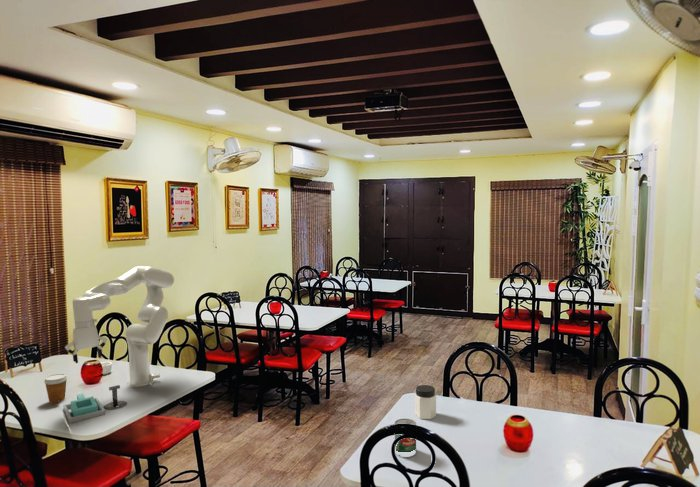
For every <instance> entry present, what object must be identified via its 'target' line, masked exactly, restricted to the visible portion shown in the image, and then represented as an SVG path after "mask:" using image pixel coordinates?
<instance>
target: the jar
mask: <svg viewBox="0 0 700 487" xmlns="http://www.w3.org/2000/svg"><path fill="white" fill-rule="evenodd" d="M414 416H417V418H418V419H420V420H432V419H434V418H435V417H436V416H437V395H436V388H435V387H434V386H432V385H429V384H421V385H417V386H416V387H415V393H414Z"/></svg>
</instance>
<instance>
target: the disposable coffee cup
mask: <svg viewBox="0 0 700 487" xmlns="http://www.w3.org/2000/svg"><path fill="white" fill-rule="evenodd" d="M67 380H68V376H67V374H65V373H56V374H50V375H47V376H46V377H45V378H44V381H43V383H44V384H45V388H46V393H47V398H48V402H49V404H50V405H58V404H60V403H59V402H60V401H62V400H63V401H64V400H65V399H66V392H67V390H66V389H67Z"/></svg>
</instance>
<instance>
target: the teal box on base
mask: <svg viewBox="0 0 700 487" xmlns="http://www.w3.org/2000/svg"><path fill="white" fill-rule="evenodd" d="M94 398H95V397H94V396H90V397H85V395H84V393H77V394H76V399H75V400H72V401H70V404H71V408H70V411H71V413H72V417H75V416H79V415H83V414H87V413H92V412H96V411H99V410H98V409H99V407H98V406H97V404H96V401H95V399H94Z"/></svg>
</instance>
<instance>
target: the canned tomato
mask: <svg viewBox="0 0 700 487" xmlns="http://www.w3.org/2000/svg"><path fill="white" fill-rule="evenodd" d="M395 424H413V425H416V426H417V422H416V421H415V420H413V419H410V418H400V419H396V421H394V425H395ZM399 436H401V435H395V434H394V440H395V439H396V438H397V437H399ZM415 449H416V450H417V439H416V440H415V439H410V438H405V439H402V440H400V441H399V442H398V444H397V446H396V451H398V452H411V451H413V450H415Z"/></svg>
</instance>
